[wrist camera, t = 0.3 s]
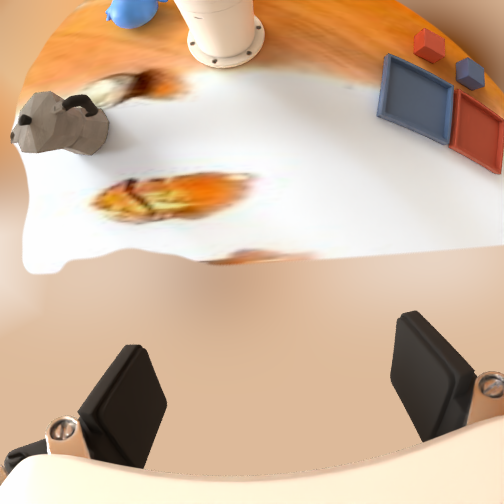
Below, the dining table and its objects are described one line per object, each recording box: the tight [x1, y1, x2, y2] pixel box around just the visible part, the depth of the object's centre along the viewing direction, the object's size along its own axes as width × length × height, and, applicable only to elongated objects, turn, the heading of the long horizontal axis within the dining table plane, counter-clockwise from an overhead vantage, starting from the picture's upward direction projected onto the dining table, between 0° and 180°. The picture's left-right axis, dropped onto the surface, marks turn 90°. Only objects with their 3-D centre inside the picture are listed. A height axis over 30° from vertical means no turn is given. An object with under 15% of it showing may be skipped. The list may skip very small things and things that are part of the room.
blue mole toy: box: [106, 0, 168, 29], centre depth 31 cm, size 12×12×8 cm
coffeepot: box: [10, 91, 109, 155], centre depth 33 cm, size 15×9×18 cm, turn 100°
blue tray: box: [377, 53, 454, 145], centre depth 37 cm, size 14×12×2 cm
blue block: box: [456, 57, 485, 90], centre depth 34 cm, size 4×4×4 cm
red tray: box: [449, 89, 504, 174], centre depth 38 cm, size 14×12×2 cm
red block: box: [414, 28, 445, 63], centre depth 33 cm, size 4×4×4 cm
